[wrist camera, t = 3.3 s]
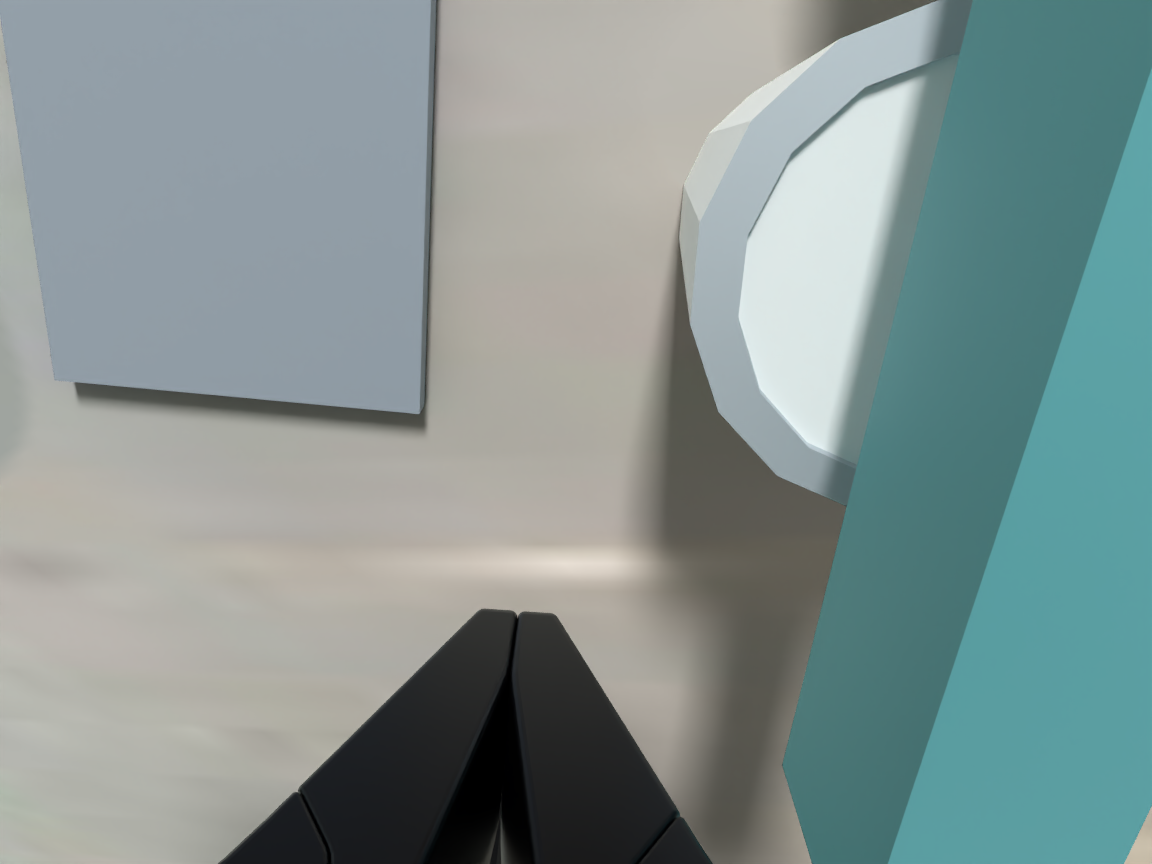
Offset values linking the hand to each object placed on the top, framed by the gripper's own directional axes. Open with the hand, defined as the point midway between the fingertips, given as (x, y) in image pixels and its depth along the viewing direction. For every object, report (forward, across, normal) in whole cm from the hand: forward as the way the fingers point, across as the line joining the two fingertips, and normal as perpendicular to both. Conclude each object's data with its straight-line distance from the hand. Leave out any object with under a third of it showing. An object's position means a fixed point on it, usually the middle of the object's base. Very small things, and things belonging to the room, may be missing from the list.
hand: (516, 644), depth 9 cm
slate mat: (+10, +7, -5) cm, 13 cm away
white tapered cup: (+10, -5, -4) cm, 12 cm away
